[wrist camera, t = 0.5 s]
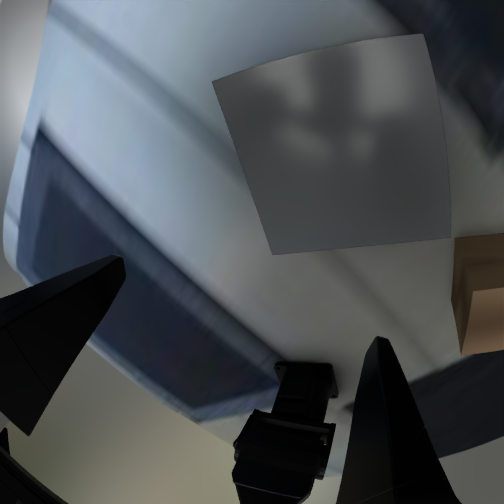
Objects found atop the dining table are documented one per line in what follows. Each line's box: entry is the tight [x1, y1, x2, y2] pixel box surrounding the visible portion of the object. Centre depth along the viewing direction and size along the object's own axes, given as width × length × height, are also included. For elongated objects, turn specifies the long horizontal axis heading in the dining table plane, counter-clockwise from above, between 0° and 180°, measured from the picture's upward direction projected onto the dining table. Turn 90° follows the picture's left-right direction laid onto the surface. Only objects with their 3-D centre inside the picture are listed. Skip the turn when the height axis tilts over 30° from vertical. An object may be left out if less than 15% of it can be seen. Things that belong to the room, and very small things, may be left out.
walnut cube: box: [451, 233, 504, 355], centre depth 17 cm, size 6×6×6 cm
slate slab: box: [212, 34, 451, 255], centre depth 18 cm, size 12×12×3 cm
